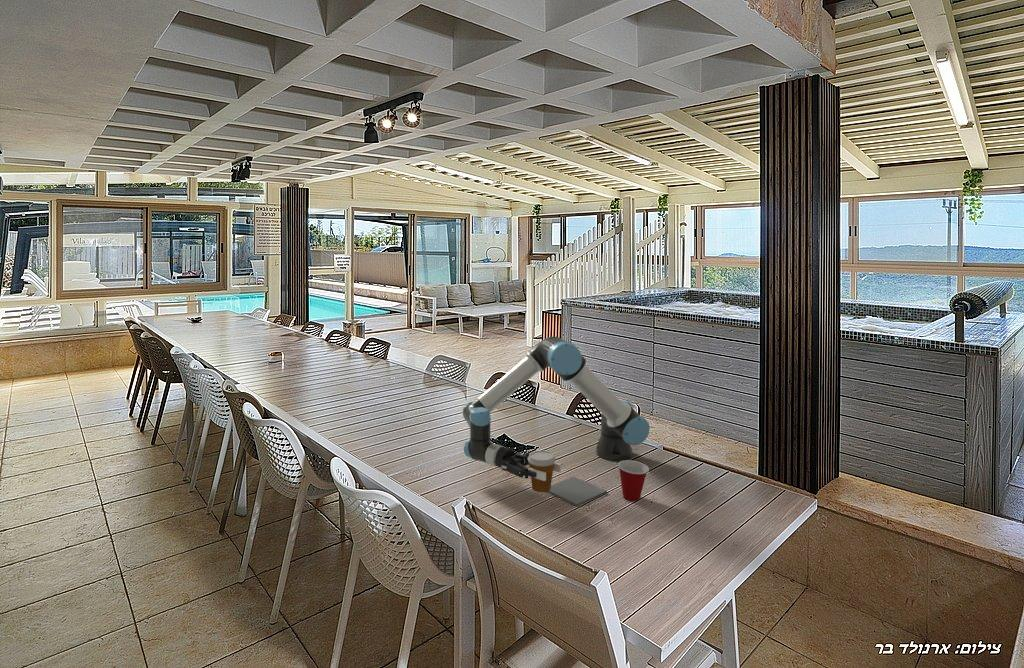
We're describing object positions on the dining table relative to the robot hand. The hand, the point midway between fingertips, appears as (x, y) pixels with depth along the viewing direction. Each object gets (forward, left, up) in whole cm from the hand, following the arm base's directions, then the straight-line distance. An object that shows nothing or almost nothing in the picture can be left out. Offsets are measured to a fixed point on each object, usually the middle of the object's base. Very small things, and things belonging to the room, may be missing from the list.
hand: (553, 472), depth 191 cm
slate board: (-14, -3, -12) cm, 19 cm away
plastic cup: (-26, +13, -13) cm, 32 cm away
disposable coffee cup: (+1, -5, -7) cm, 9 cm away
